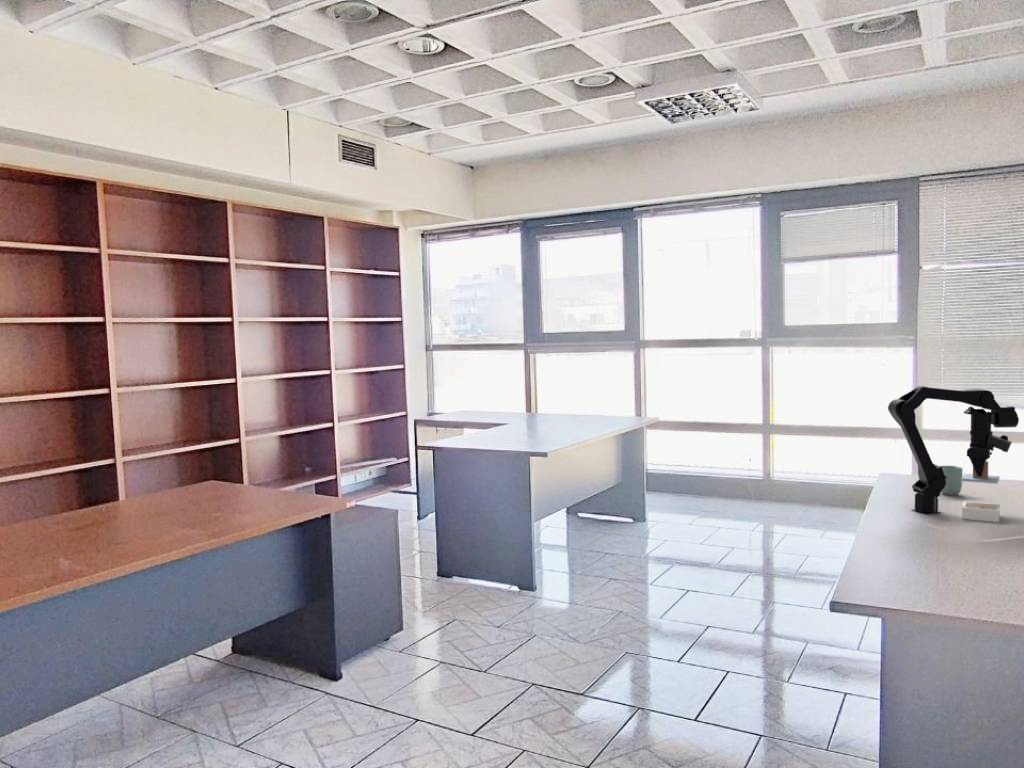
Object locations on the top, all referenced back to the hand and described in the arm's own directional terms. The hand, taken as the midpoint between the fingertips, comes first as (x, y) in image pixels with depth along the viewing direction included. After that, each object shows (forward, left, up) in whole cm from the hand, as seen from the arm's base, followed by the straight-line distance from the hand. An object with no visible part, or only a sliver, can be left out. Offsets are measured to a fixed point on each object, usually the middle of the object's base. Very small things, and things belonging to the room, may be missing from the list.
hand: (980, 475), depth 256 cm
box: (-6, -6, -13) cm, 15 cm away
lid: (0, 0, -2) cm, 2 cm away
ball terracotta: (-4, -4, -12) cm, 13 cm away
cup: (+14, +26, -13) cm, 33 cm away
